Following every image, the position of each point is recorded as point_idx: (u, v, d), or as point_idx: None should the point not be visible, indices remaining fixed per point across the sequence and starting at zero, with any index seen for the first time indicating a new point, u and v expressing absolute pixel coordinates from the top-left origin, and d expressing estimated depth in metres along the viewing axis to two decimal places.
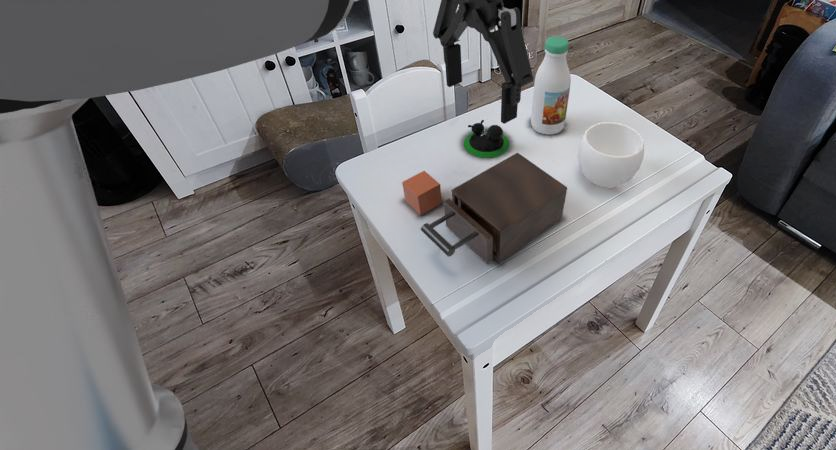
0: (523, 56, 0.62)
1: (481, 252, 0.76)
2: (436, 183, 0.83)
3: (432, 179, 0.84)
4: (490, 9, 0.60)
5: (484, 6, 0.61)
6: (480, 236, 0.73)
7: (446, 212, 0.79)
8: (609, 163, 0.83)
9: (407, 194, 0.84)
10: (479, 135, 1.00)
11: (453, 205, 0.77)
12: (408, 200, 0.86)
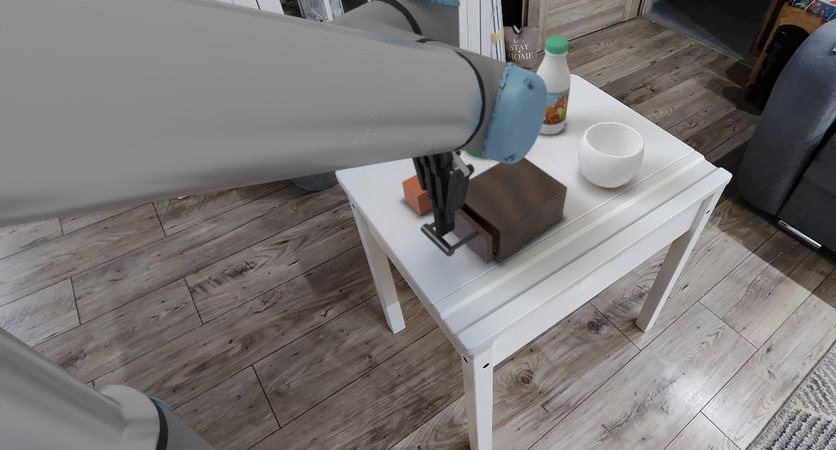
0: (461, 195, 0.62)
1: (481, 252, 0.76)
2: None
3: None
4: (446, 156, 0.57)
5: None
6: (480, 236, 0.73)
7: None
8: (609, 163, 0.83)
9: (407, 194, 0.84)
10: None
11: None
12: (408, 200, 0.86)
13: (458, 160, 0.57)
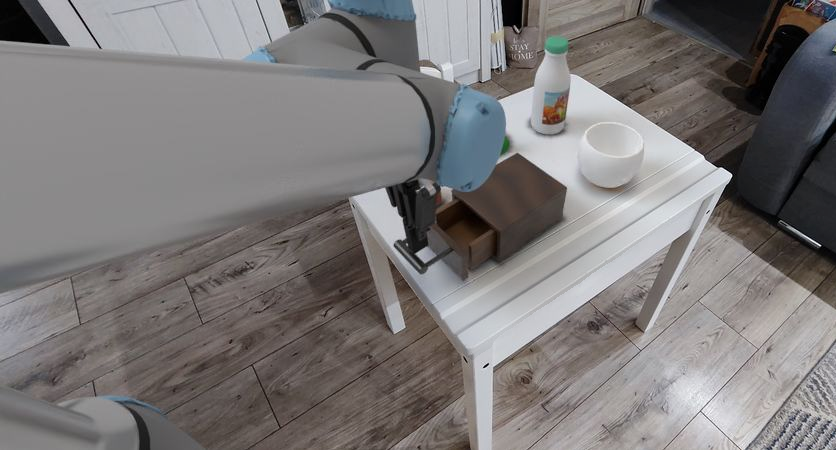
0: (430, 213, 0.60)
1: (456, 269, 0.73)
2: None
3: None
4: None
5: None
6: (455, 253, 0.70)
7: None
8: (609, 163, 0.83)
9: None
10: None
11: None
12: None
13: (424, 178, 0.55)
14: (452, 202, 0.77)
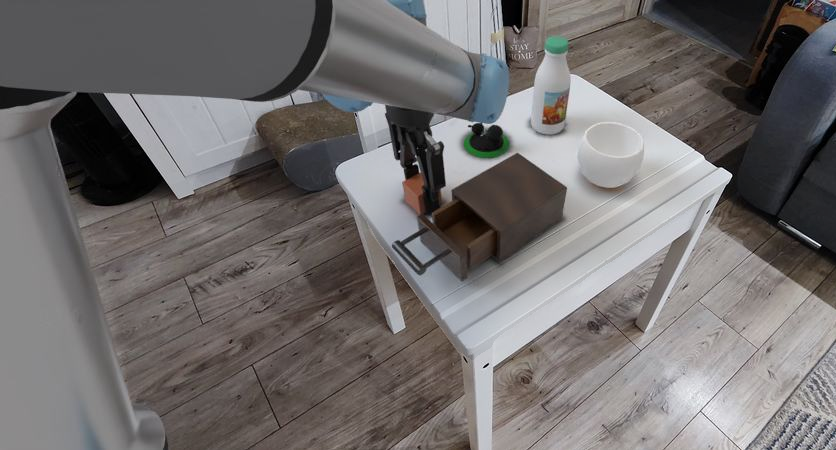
0: (440, 173, 0.76)
1: (455, 270, 0.73)
2: None
3: None
4: (420, 136, 0.71)
5: (415, 131, 0.72)
6: (453, 254, 0.70)
7: (420, 228, 0.76)
8: (609, 163, 0.83)
9: (407, 194, 0.84)
10: (479, 135, 1.00)
11: (426, 221, 0.74)
12: (408, 200, 0.86)
13: (430, 138, 0.72)
14: (451, 203, 0.77)
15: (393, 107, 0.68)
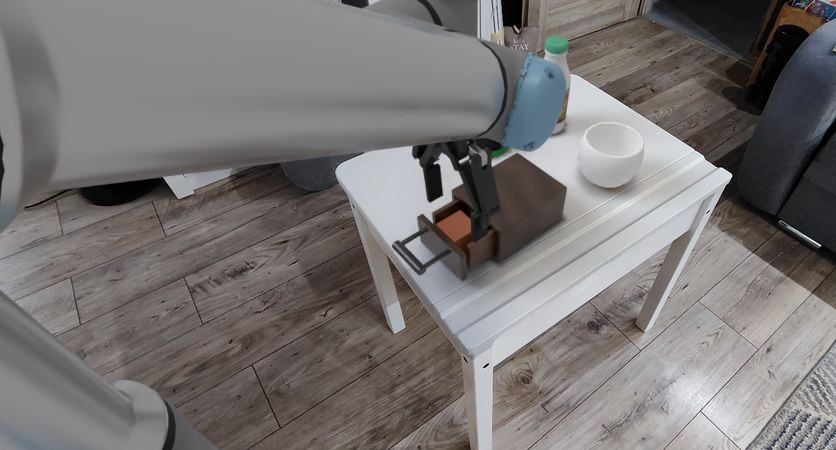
0: (492, 191, 0.60)
1: (455, 270, 0.73)
2: None
3: (470, 221, 0.74)
4: (461, 146, 0.58)
5: (454, 141, 0.58)
6: (453, 254, 0.70)
7: (420, 228, 0.76)
8: (609, 163, 0.83)
9: None
10: None
11: (426, 221, 0.74)
12: None
13: (473, 146, 0.58)
14: (451, 203, 0.77)
15: None
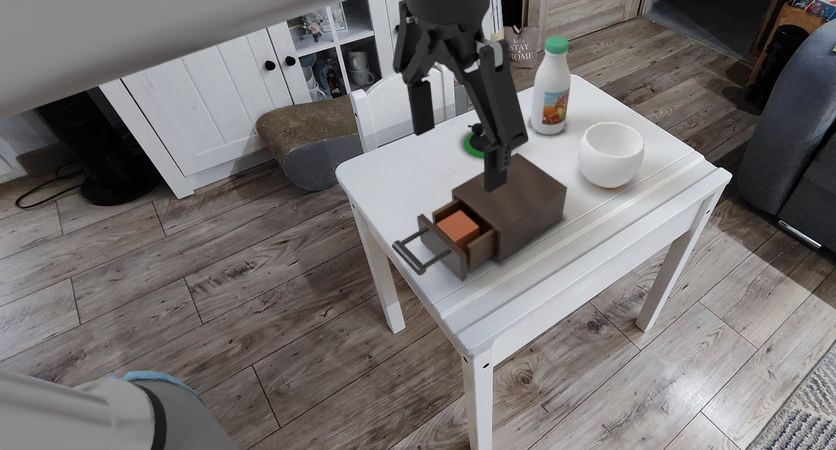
0: (513, 108, 0.43)
1: (455, 270, 0.73)
2: (475, 226, 0.74)
3: (470, 221, 0.74)
4: (464, 41, 0.41)
5: (456, 37, 0.41)
6: (453, 254, 0.70)
7: (420, 228, 0.76)
8: (609, 163, 0.83)
9: None
10: (479, 135, 1.00)
11: (426, 221, 0.74)
12: None
13: (482, 40, 0.40)
14: (451, 203, 0.77)
15: None
